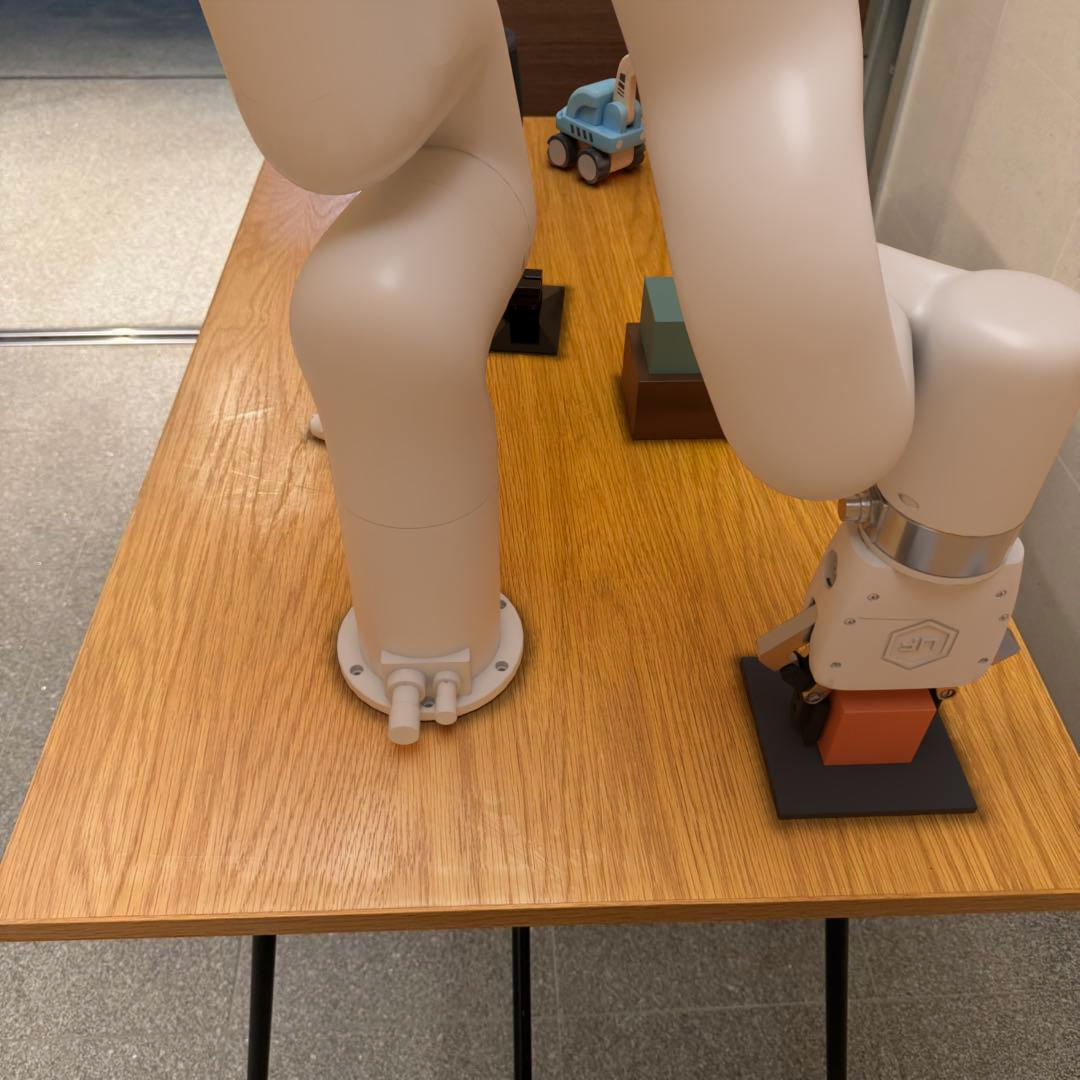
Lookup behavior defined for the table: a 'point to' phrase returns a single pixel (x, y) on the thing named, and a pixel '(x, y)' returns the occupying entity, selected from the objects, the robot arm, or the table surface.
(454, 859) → the table surface
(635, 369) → the base block
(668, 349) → the middle block
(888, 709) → the orange-red cube
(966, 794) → the mat
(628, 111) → the toy excavator
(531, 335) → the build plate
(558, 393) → the table surface
